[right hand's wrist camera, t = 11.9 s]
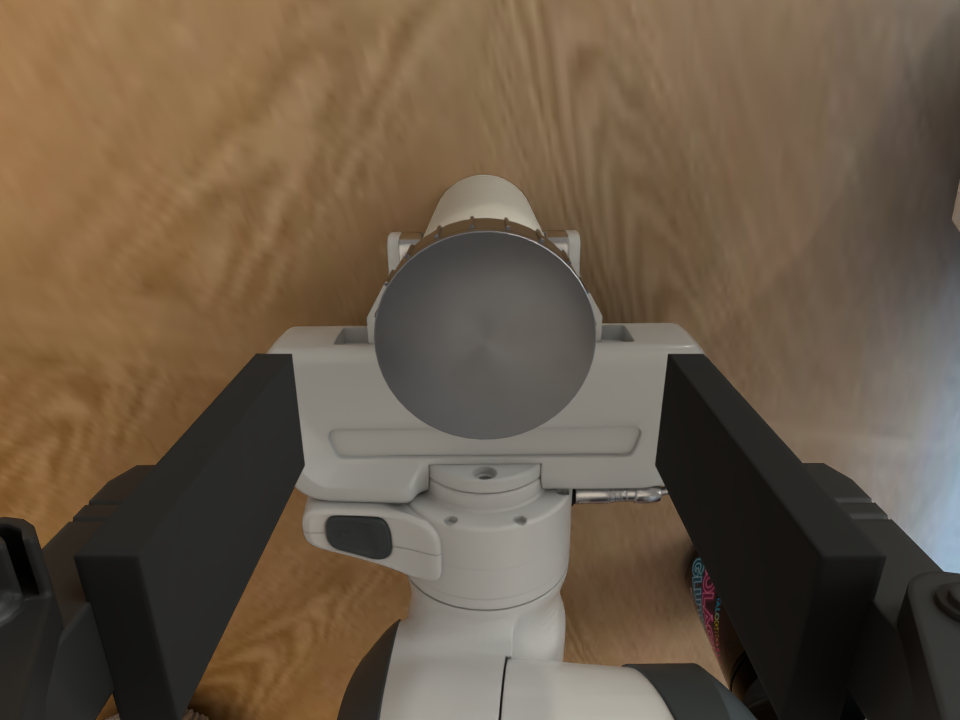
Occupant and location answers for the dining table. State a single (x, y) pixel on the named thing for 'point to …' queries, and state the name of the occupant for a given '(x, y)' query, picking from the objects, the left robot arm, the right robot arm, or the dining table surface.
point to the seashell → (189, 716)
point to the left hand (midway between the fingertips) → (482, 232)
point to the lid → (484, 329)
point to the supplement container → (736, 647)
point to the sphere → (957, 210)
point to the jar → (483, 203)
